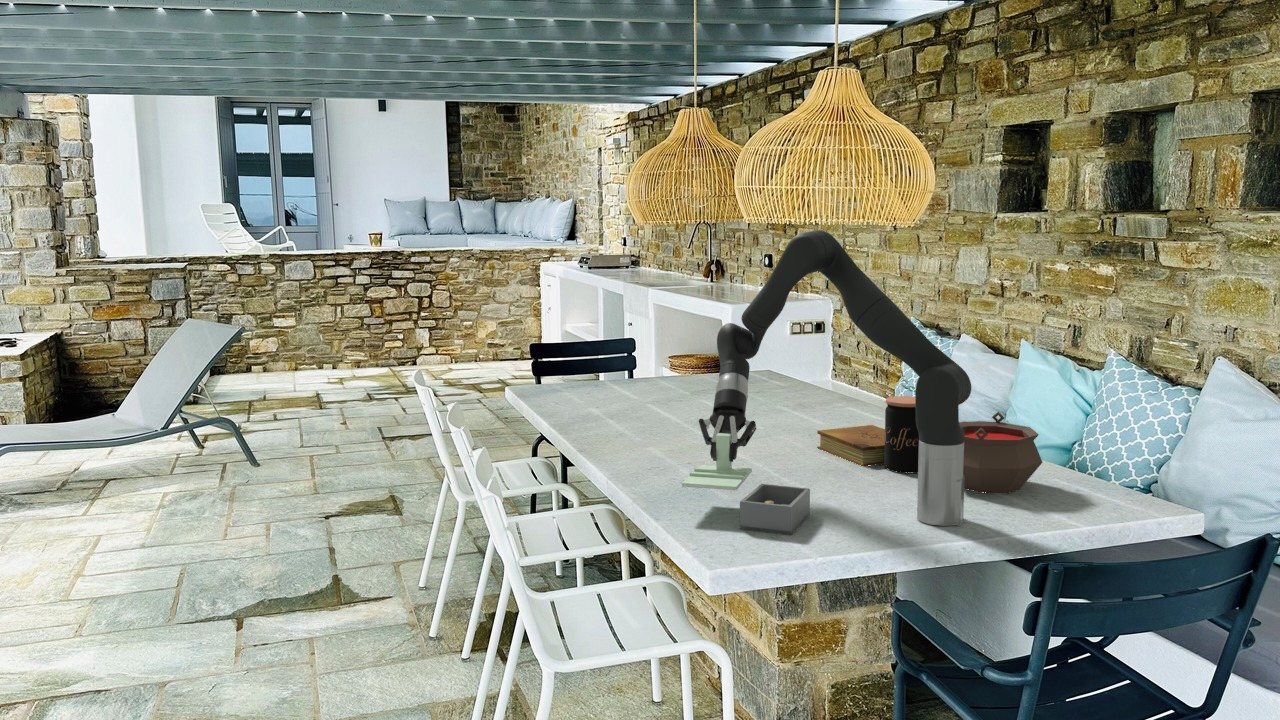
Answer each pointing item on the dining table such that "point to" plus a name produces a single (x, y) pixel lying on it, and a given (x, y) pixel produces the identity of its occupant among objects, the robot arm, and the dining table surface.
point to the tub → (775, 509)
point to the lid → (719, 469)
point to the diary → (855, 444)
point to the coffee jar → (901, 434)
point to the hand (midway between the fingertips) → (722, 459)
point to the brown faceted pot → (998, 455)
